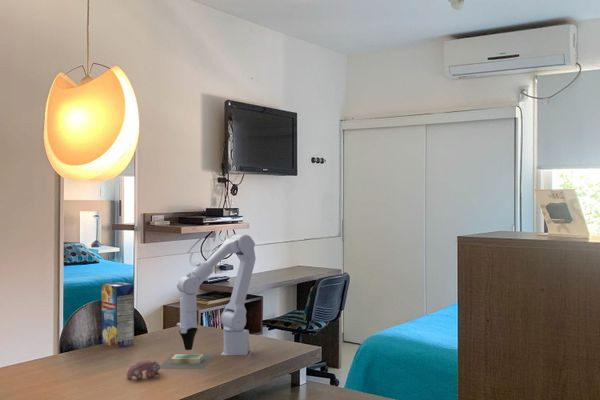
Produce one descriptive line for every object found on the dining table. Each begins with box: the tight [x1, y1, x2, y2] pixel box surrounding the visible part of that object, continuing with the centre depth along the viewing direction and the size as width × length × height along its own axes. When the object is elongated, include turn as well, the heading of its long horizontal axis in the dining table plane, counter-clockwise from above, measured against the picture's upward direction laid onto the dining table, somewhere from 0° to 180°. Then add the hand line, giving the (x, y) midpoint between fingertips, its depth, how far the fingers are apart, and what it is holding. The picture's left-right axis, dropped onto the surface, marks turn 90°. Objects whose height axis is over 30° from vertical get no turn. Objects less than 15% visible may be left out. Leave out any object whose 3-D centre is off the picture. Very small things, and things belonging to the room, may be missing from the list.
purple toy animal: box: [126, 359, 161, 380], centre depth 184 cm, size 10×5×7 cm, turn 123°
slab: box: [171, 353, 204, 364], centre depth 201 cm, size 10×2×6 cm
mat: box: [159, 354, 216, 370], centre depth 201 cm, size 16×18×1 cm
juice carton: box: [101, 281, 135, 349], centre depth 230 cm, size 12×8×24 cm, turn 47°
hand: (188, 349), depth 203 cm, fingers closed
